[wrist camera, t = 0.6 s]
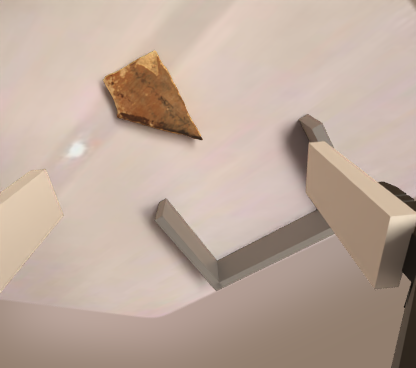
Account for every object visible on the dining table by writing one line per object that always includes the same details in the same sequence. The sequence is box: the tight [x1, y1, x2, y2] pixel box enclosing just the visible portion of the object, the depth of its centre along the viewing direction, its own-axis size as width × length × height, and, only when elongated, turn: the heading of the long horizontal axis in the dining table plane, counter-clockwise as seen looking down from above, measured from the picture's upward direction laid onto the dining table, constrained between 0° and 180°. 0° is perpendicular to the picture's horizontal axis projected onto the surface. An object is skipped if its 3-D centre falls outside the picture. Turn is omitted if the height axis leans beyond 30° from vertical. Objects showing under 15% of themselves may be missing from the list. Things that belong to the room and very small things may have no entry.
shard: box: [103, 50, 203, 140], centre depth 32 cm, size 11×8×2 cm
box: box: [155, 114, 335, 291], centre depth 37 cm, size 14×22×4 cm, turn 123°
